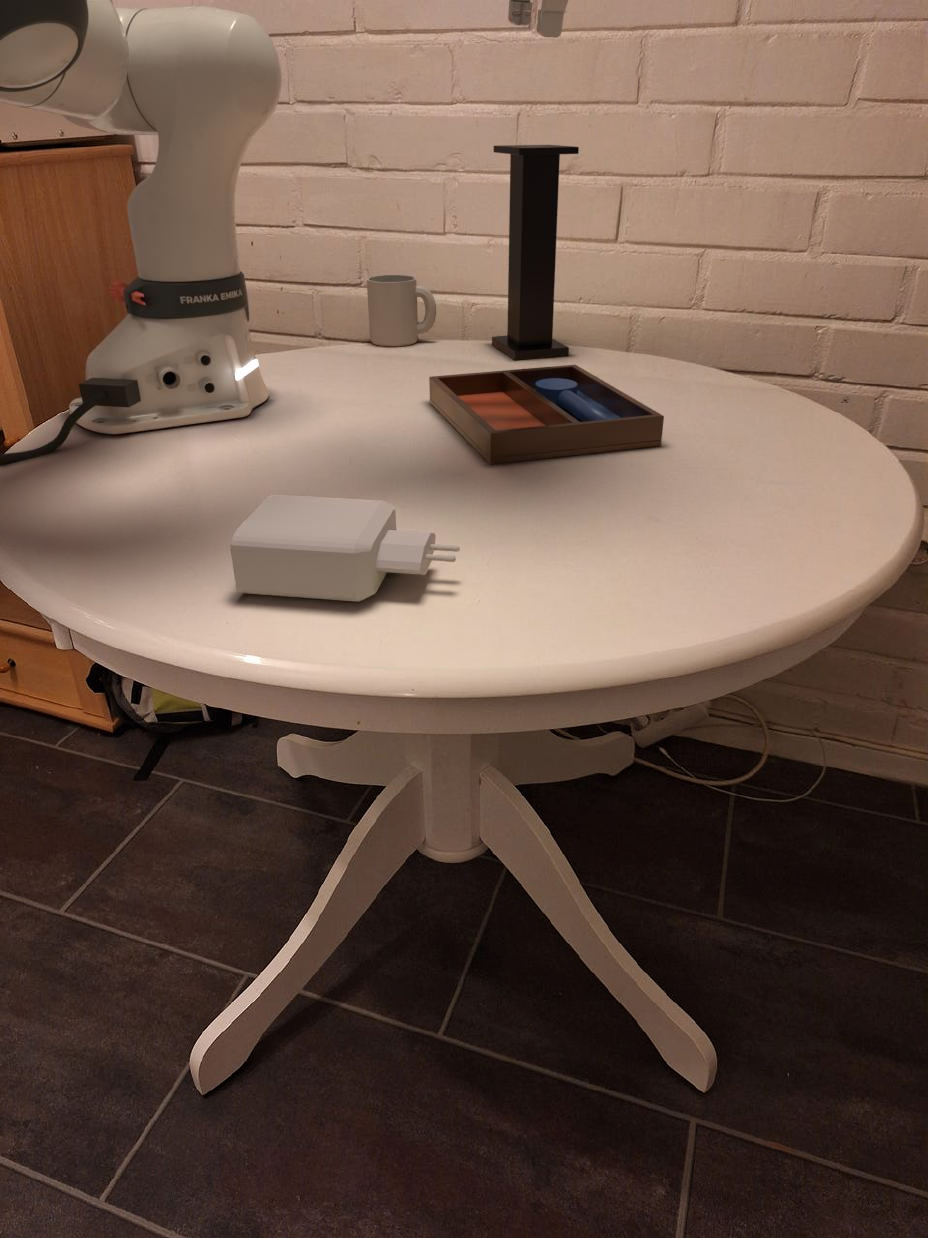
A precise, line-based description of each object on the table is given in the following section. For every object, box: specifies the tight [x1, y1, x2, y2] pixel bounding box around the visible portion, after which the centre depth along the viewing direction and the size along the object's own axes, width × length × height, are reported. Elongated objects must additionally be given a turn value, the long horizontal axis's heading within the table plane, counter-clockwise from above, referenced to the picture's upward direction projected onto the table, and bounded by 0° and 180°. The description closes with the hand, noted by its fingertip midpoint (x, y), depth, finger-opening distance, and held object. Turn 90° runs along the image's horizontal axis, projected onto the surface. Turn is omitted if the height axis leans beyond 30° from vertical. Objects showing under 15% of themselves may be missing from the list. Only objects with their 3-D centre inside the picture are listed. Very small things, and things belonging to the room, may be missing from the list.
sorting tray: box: [428, 364, 665, 465], centre depth 99 cm, size 23×18×3 cm
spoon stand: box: [491, 144, 580, 361], centre depth 124 cm, size 10×8×26 cm
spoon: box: [535, 378, 613, 422], centre depth 99 cm, size 18×5×2 cm, turn 17°
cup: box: [366, 274, 437, 348], centre depth 133 cm, size 7×10×9 cm
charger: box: [230, 493, 461, 602], centre depth 66 cm, size 5×9×15 cm
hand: (532, 30), depth 79 cm, fingers open, 8 cm apart
